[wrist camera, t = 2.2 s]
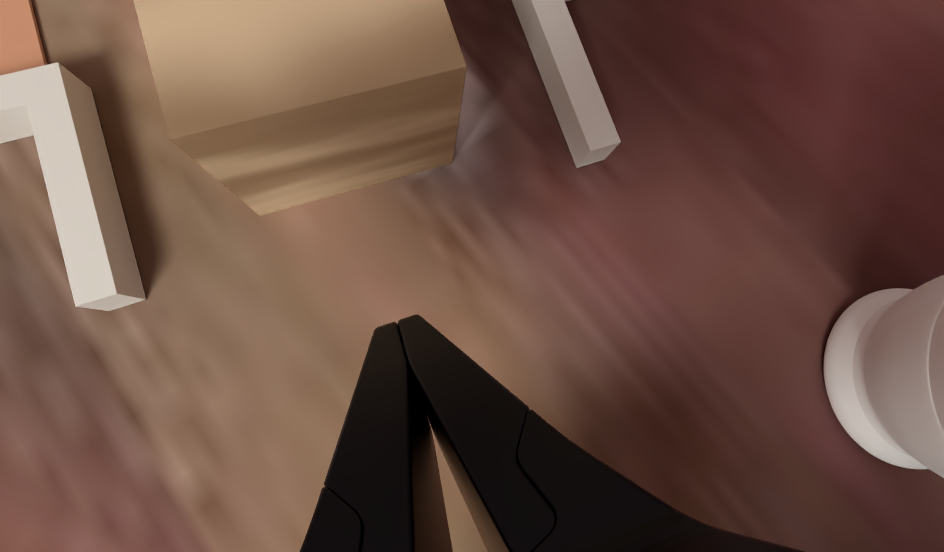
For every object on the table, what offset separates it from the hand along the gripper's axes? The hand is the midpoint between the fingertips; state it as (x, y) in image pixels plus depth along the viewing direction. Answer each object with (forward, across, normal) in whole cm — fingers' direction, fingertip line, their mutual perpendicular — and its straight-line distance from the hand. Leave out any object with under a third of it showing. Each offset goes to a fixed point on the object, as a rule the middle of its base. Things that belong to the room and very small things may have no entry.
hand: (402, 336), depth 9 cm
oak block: (+20, 0, -2) cm, 20 cm away
